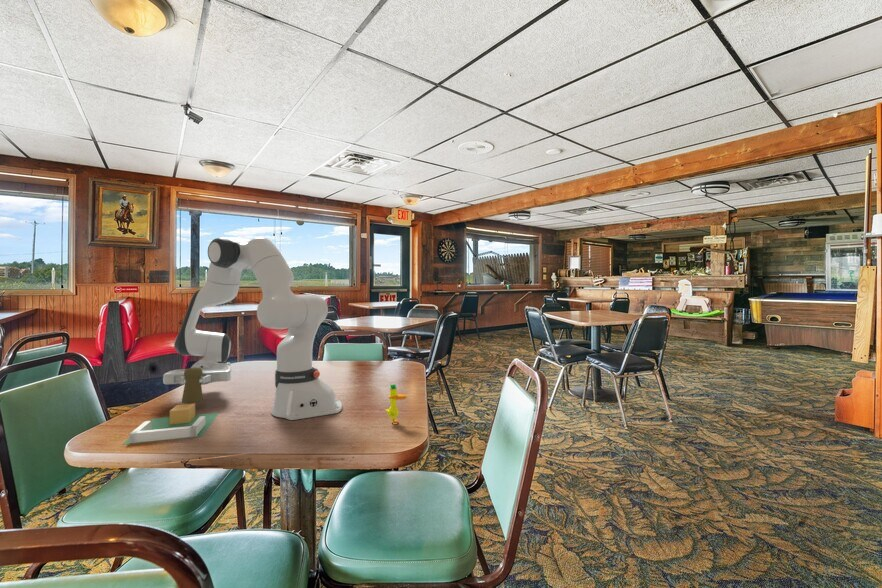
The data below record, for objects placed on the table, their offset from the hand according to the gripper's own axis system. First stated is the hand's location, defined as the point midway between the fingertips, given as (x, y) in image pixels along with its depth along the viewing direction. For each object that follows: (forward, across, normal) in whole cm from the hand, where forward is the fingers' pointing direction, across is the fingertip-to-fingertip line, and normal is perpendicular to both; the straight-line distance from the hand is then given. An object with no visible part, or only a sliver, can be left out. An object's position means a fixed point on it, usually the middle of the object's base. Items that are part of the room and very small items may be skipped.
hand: (192, 381), depth 124 cm
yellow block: (+10, 0, +9) cm, 14 cm away
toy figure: (+31, +62, +9) cm, 70 cm away
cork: (0, 0, +7) cm, 7 cm away
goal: (+21, 0, +9) cm, 23 cm away
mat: (+16, 0, +10) cm, 19 cm away
